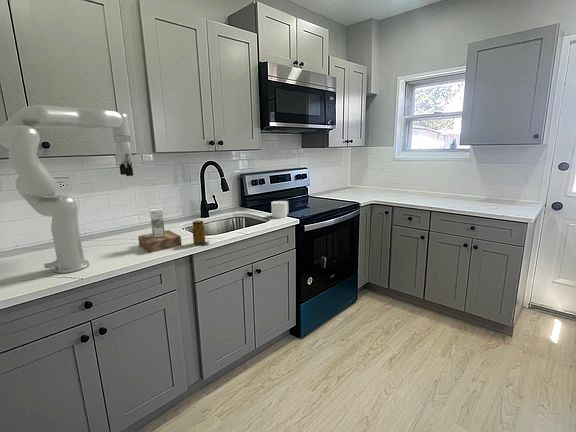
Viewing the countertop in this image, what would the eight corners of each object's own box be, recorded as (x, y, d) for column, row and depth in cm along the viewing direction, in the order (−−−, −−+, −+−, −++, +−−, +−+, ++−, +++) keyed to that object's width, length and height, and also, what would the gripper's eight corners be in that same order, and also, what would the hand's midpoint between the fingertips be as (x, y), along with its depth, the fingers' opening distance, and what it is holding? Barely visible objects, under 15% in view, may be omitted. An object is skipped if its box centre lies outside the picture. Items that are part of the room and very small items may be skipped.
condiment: (194, 241, 171) (192, 220, 168) (210, 241, 171) (208, 219, 169) (191, 246, 164) (189, 223, 161) (208, 245, 164) (206, 222, 162)
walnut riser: (149, 252, 155) (148, 243, 153) (139, 245, 166) (138, 236, 165) (181, 245, 165) (180, 236, 164) (169, 238, 176) (168, 230, 175)
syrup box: (164, 234, 168) (161, 207, 164) (165, 237, 163) (162, 209, 159) (152, 235, 165) (149, 208, 162) (153, 238, 160) (149, 210, 157)
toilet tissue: (269, 217, 221) (269, 203, 219) (275, 213, 233) (274, 200, 230) (284, 218, 218) (283, 204, 216) (289, 214, 229) (289, 200, 227)
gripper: (109, 140, 159) (114, 174, 163) (118, 139, 146) (123, 177, 150) (125, 139, 164) (129, 173, 168) (135, 139, 151) (140, 175, 155)
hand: (126, 175), depth 159 cm, fingers open, 9 cm apart
